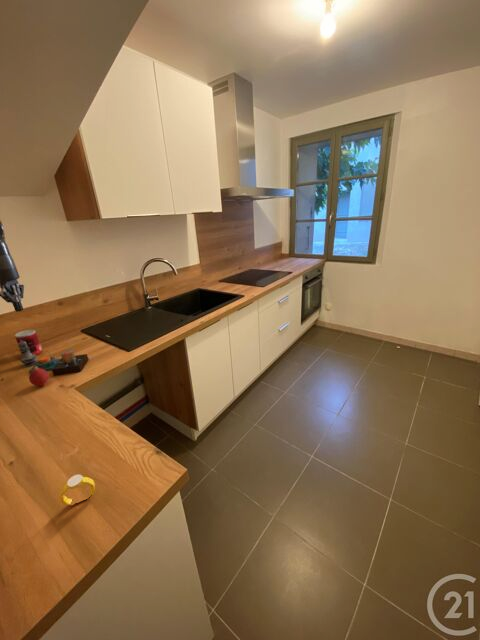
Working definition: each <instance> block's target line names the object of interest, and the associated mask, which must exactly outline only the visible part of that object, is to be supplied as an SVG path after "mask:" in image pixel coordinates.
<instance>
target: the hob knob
mask: <svg viewBox="0 0 480 640" xmlns="http://www.w3.org/2000/svg"><path fill="white" fill-rule="evenodd" d="M60 356H61V358H62V359H63V362H64V364H70V363H73V362H74V361H76V358H75V356H76V355H75V351H74V349H72V348H68V349H65V350H63V351H61V352H60Z"/></svg>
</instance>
